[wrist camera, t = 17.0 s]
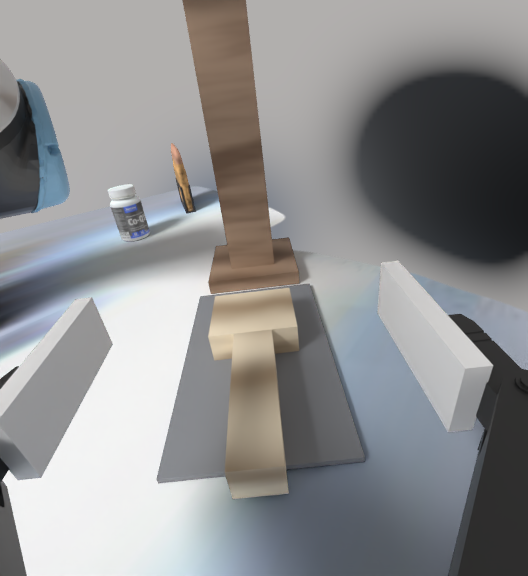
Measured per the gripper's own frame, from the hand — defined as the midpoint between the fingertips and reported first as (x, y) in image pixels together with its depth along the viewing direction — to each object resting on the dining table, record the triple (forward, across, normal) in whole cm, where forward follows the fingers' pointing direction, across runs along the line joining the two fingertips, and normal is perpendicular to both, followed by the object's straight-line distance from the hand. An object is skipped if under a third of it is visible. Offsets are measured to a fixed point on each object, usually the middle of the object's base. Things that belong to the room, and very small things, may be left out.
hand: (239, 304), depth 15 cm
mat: (+8, 0, -10) cm, 13 cm away
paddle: (+5, 0, -10) cm, 11 cm away
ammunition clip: (+57, -14, -11) cm, 60 cm away
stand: (+24, 0, -10) cm, 26 cm away
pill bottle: (+42, -20, -11) cm, 48 cm away
